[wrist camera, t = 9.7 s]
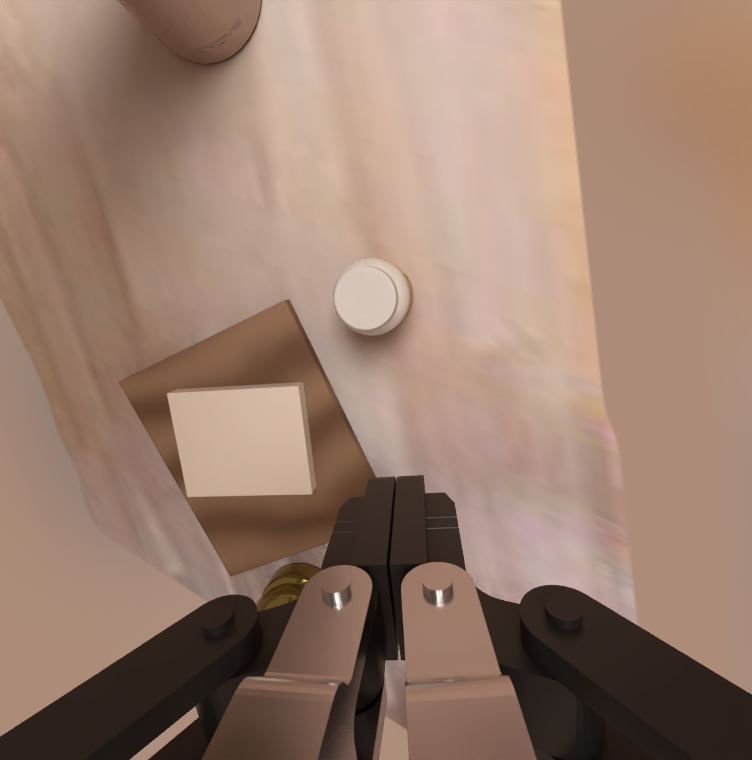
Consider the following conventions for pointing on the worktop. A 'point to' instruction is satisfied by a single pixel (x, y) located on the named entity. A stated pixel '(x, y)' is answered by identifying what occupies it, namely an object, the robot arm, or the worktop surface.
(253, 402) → the tile
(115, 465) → the worktop surface
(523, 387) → the worktop surface
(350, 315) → the supplement bottle
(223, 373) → the board
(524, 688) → the robot arm
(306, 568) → the brass knob
